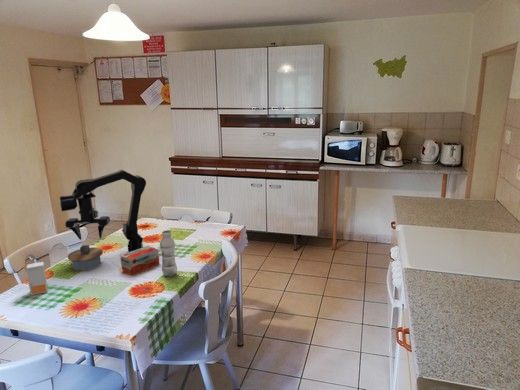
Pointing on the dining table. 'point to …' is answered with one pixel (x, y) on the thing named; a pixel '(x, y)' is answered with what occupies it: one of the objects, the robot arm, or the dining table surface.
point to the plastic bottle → (168, 254)
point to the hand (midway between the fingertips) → (90, 238)
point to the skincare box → (37, 278)
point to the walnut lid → (85, 254)
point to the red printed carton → (139, 260)
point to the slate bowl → (86, 264)
